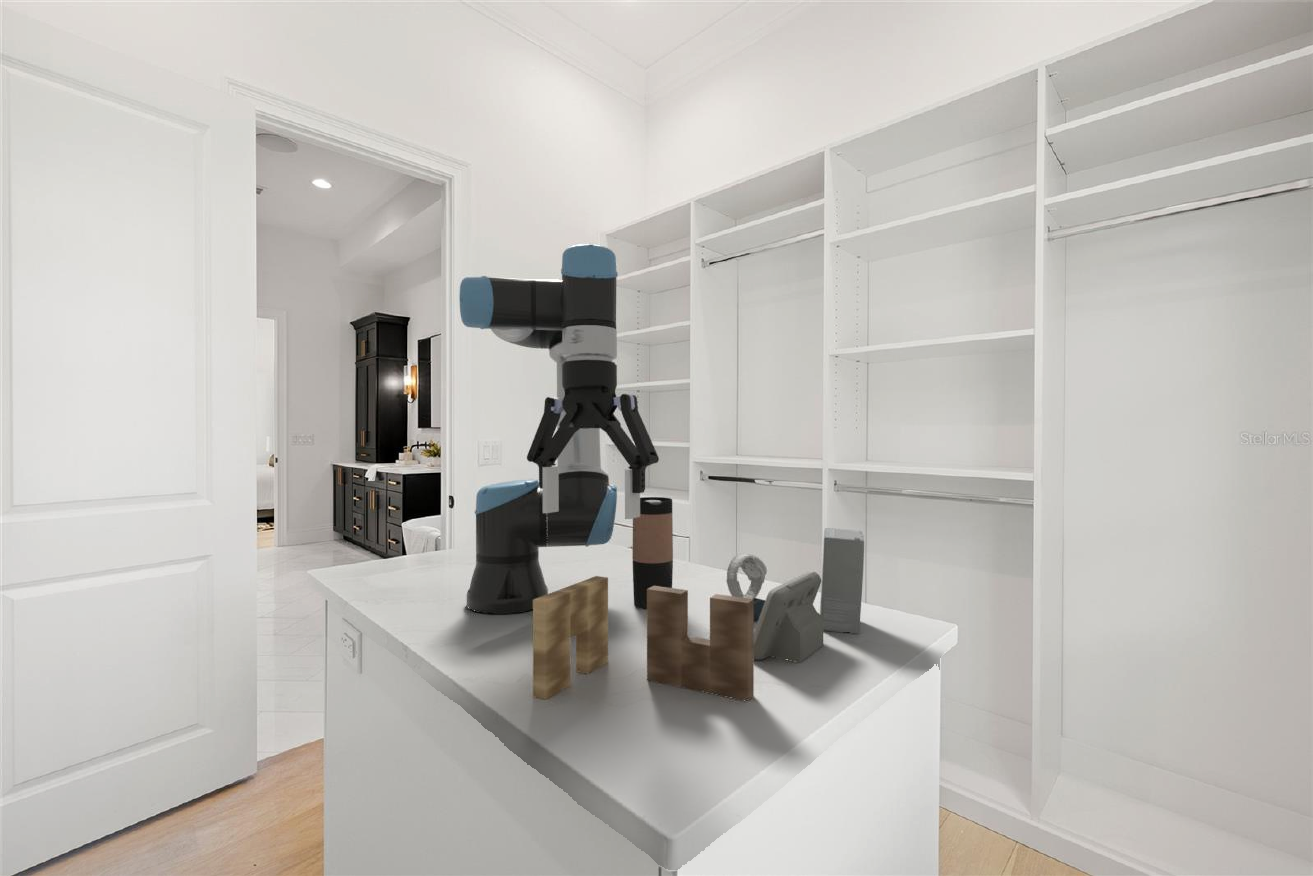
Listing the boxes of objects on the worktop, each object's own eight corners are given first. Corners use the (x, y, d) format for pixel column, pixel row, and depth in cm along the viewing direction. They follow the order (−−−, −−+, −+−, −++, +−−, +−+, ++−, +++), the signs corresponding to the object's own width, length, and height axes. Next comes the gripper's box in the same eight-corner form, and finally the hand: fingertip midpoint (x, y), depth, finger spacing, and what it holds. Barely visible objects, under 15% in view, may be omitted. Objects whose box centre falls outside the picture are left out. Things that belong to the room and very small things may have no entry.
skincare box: (819, 616, 108) (819, 527, 108) (862, 620, 106) (862, 529, 106) (819, 631, 100) (819, 535, 100) (865, 635, 98) (865, 537, 98)
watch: (771, 615, 109) (771, 553, 108) (743, 625, 103) (743, 560, 103) (746, 609, 113) (746, 549, 112) (718, 618, 107) (718, 555, 107)
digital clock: (794, 630, 101) (794, 566, 101) (843, 644, 94) (844, 575, 94) (730, 655, 90) (730, 582, 90) (780, 672, 83) (780, 594, 83)
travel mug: (648, 597, 121) (648, 496, 121) (680, 603, 116) (680, 498, 116) (624, 606, 114) (624, 499, 114) (657, 613, 110) (657, 502, 110)
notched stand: (647, 679, 81) (646, 589, 80) (654, 674, 82) (654, 585, 82) (748, 701, 74) (748, 603, 74) (753, 695, 76) (753, 599, 76)
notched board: (546, 699, 75) (545, 601, 74) (533, 696, 76) (532, 599, 75) (608, 661, 87) (607, 577, 87) (596, 659, 88) (596, 576, 88)
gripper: (501, 363, 87) (502, 512, 87) (656, 351, 75) (656, 524, 75) (535, 368, 93) (536, 507, 93) (682, 358, 82) (683, 517, 82)
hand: (590, 515), depth 84 cm, fingers open, 13 cm apart
